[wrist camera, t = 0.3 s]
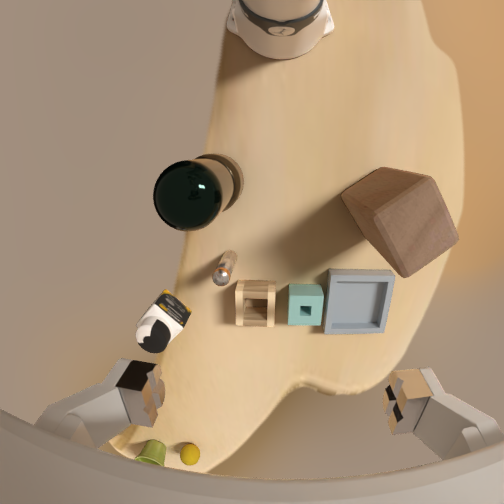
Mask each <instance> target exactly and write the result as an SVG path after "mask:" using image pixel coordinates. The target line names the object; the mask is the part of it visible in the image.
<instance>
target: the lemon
mask: <svg viewBox="0 0 504 504" xmlns="http://www.w3.org/2000/svg"><path fill="white" fill-rule="evenodd" d="M180 458H181V461H182V462H183V463H184V464H186V465H194V464H196V463H197V462H198V460H199V458H200V450H199V448H198V447H197V446H195V445H194V444H187V445H185V446H184V447H183V448H182V450H181V453H180Z"/></svg>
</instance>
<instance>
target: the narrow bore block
mask: <svg viewBox="0 0 504 504" xmlns="http://www.w3.org/2000/svg"><path fill="white" fill-rule="evenodd" d="M323 300H324V295H323V291H322V288H321V284H289V293H288V311H287V313H288V325H321V318H322V309H323Z"/></svg>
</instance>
